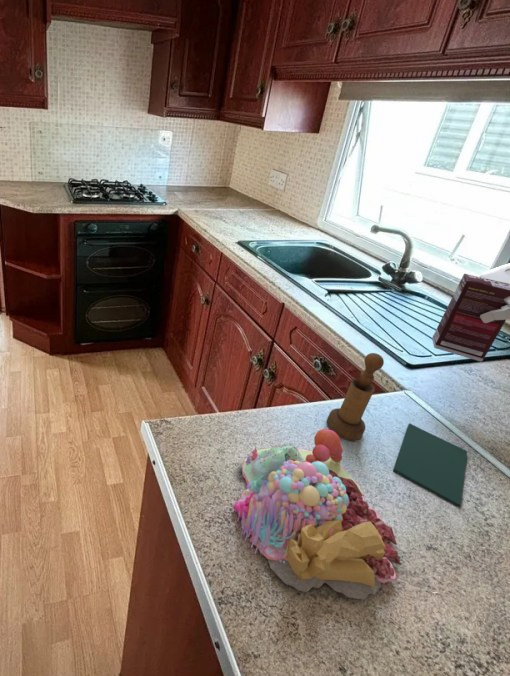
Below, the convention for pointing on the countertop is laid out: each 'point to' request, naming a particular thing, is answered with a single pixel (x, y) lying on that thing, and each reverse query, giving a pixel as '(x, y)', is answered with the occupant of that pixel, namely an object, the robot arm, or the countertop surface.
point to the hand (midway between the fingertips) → (473, 311)
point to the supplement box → (471, 318)
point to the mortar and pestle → (355, 402)
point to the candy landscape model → (315, 519)
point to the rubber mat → (432, 464)
